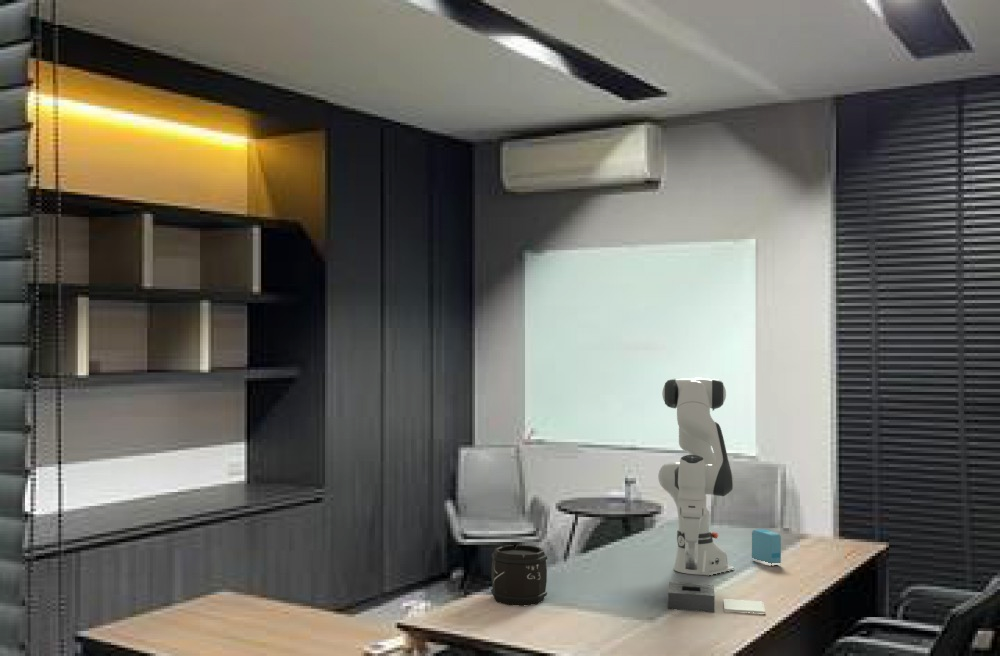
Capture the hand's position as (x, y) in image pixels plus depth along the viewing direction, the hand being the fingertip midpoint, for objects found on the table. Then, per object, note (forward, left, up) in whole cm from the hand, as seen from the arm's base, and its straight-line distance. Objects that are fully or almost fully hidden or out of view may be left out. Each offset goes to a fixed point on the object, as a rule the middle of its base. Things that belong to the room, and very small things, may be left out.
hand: (691, 552), depth 292 cm
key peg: (0, 0, -5) cm, 5 cm away
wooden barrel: (+46, -30, -17) cm, 57 cm away
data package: (-65, -33, -17) cm, 75 cm away
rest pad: (-12, +10, -16) cm, 23 cm away
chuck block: (0, 0, -16) cm, 16 cm away
